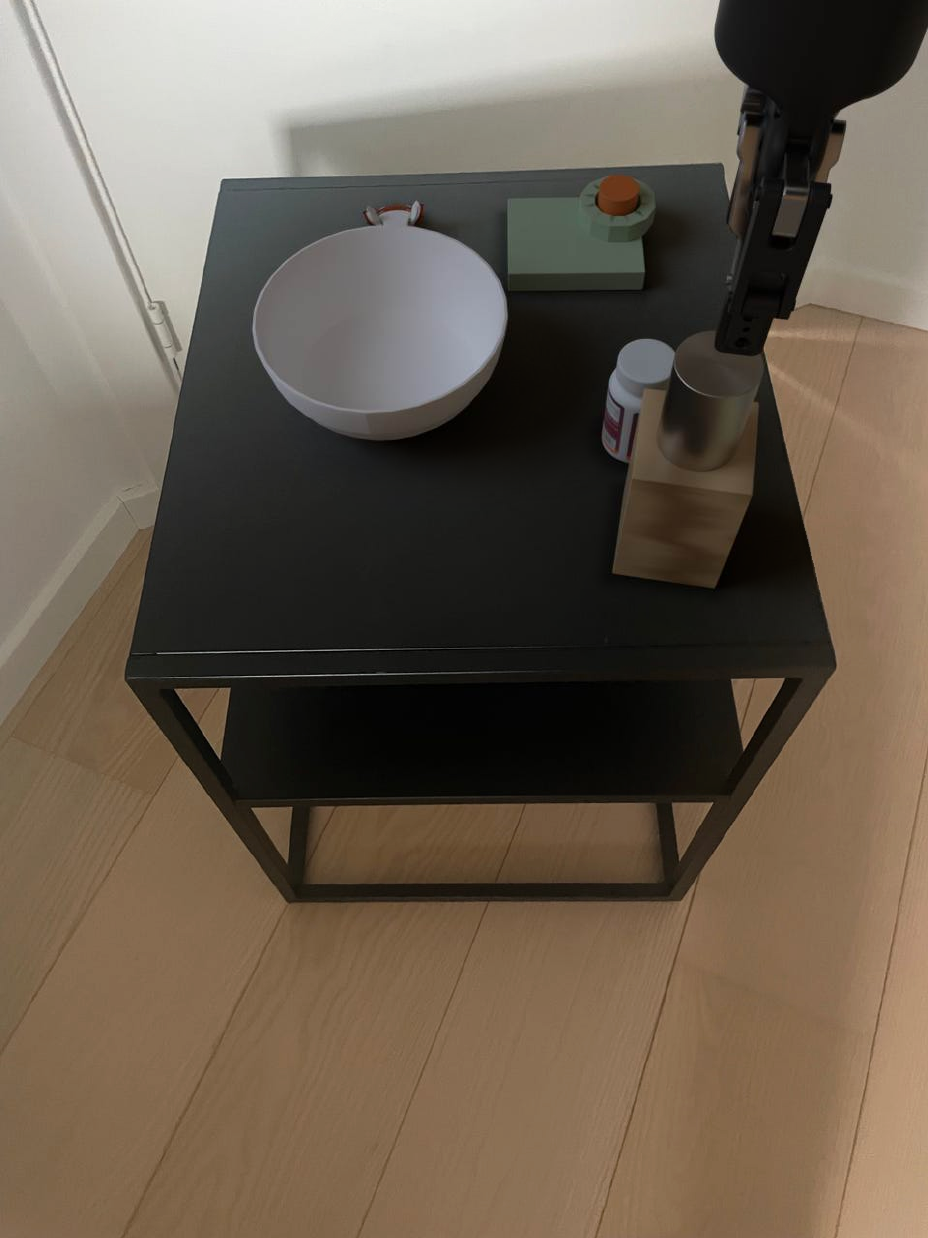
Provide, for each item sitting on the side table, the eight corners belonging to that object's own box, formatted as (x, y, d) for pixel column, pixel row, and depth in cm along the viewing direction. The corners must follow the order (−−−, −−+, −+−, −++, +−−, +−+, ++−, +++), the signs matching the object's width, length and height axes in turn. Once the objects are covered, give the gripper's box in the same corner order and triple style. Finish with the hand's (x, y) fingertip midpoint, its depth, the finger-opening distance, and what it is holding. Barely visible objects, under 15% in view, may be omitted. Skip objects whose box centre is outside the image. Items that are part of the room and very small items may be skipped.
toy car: (426, 209, 84) (424, 177, 81) (427, 274, 80) (425, 243, 77) (367, 212, 84) (362, 180, 81) (365, 277, 80) (360, 247, 77)
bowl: (512, 299, 78) (513, 226, 72) (501, 482, 70) (502, 417, 63) (291, 294, 79) (273, 221, 73) (254, 473, 71) (230, 409, 64)
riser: (721, 505, 68) (759, 401, 58) (715, 589, 65) (753, 494, 55) (623, 491, 69) (644, 387, 59) (612, 573, 66) (631, 478, 56)
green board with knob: (646, 209, 83) (652, 174, 80) (655, 289, 78) (661, 255, 75) (507, 212, 83) (507, 176, 80) (507, 291, 79) (508, 257, 76)
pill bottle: (674, 426, 72) (694, 345, 64) (652, 473, 70) (670, 396, 62) (614, 406, 73) (627, 325, 65) (591, 452, 71) (601, 374, 63)
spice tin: (739, 413, 58) (766, 335, 52) (734, 476, 56) (761, 402, 50) (660, 403, 59) (677, 325, 53) (652, 465, 56) (670, 391, 51)
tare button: (635, 190, 79) (638, 173, 78) (638, 216, 78) (640, 200, 76) (596, 190, 79) (598, 174, 78) (598, 217, 78) (600, 201, 76)
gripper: (978, 48, 29) (816, 406, 43) (957, -185, 35) (823, 194, 49) (725, 26, 30) (649, 385, 44) (750, -197, 36) (677, 179, 50)
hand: (741, 283), depth 47 cm, fingers open, 8 cm apart
